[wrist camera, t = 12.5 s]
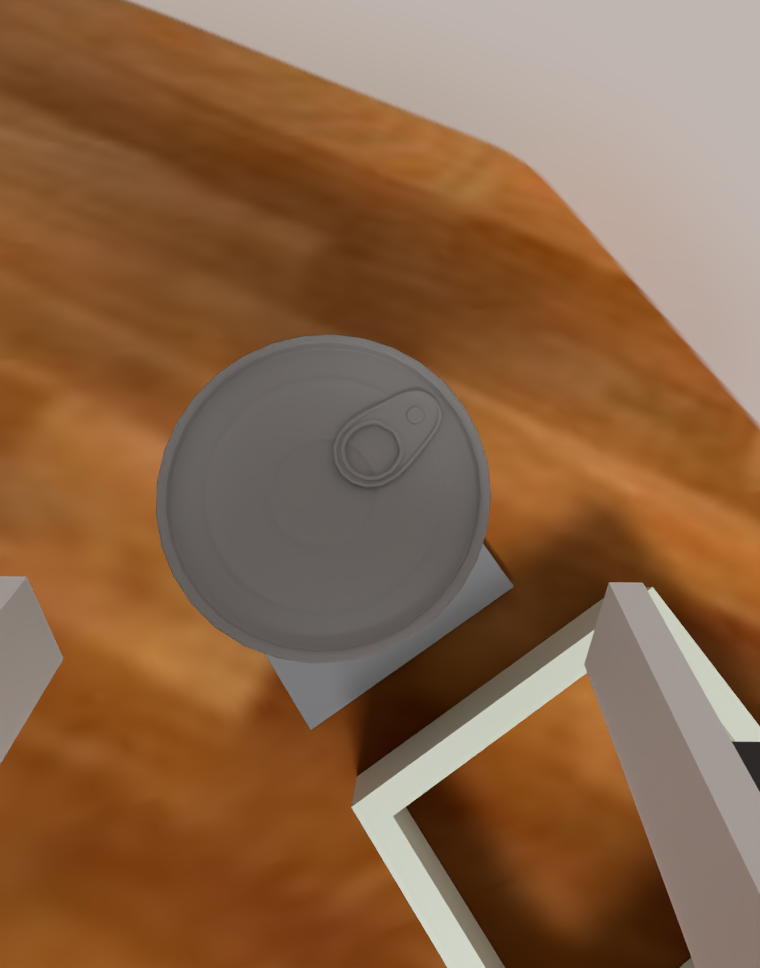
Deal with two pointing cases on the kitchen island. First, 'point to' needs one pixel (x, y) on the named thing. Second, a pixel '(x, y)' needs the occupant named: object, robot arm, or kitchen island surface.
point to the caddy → (465, 736)
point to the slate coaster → (342, 682)
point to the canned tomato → (323, 498)
